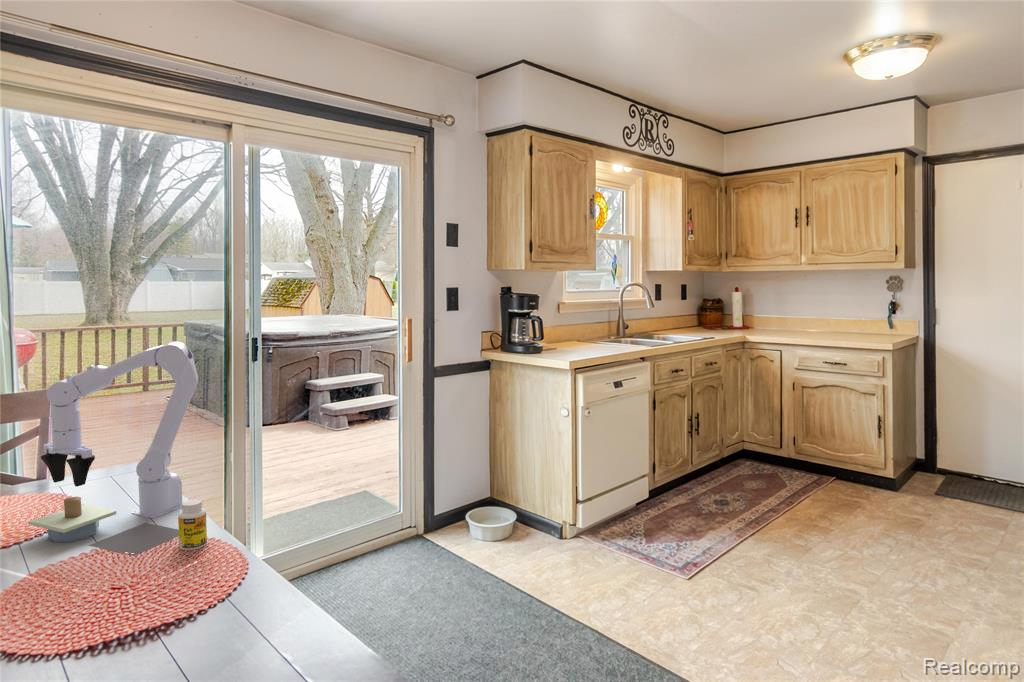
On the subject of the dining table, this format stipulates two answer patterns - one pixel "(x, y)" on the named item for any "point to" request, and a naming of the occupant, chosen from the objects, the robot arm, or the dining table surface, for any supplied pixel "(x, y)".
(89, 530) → the bowl
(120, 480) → the dining table surface
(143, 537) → the mat
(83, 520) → the lid
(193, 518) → the supplement bottle
